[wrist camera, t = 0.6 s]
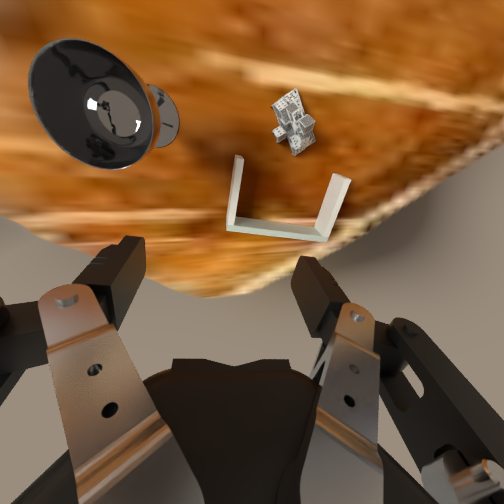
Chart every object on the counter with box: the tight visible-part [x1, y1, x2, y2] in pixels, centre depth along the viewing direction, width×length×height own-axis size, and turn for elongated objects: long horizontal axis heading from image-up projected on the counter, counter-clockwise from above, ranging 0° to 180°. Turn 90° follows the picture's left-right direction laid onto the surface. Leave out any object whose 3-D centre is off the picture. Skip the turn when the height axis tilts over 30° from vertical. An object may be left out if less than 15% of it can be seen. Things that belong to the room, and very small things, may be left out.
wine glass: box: [28, 38, 179, 170], centre depth 22 cm, size 8×8×15 cm
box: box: [226, 155, 351, 242], centre depth 35 cm, size 10×17×4 cm, turn 79°
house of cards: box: [272, 88, 316, 156], centre depth 28 cm, size 9×9×8 cm
